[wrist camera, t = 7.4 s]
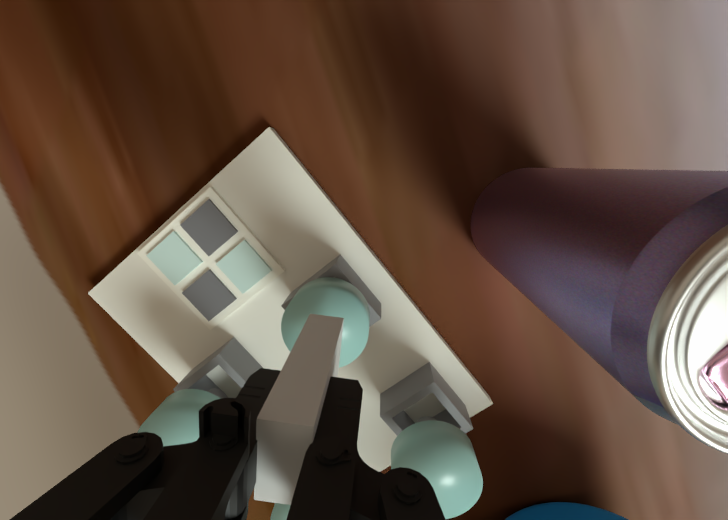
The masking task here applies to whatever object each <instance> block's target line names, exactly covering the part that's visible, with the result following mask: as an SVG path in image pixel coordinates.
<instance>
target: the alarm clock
mask: <svg viewBox="0 0 728 520" xmlns="http://www.w3.org/2000/svg"><path fill="white" fill-rule="evenodd" d="M505 520H628V519H626V518H624V517H622V516H619V515H617V514H615V513H612V512H610V511H607V510H604V509H601V508H597V507H594V506H590V505H585V504H579V503H571V502H549V503H542V504H537V505H533V506H530V507H527V508H524V509H522V510H519V511H517V512H515V513H514V514H512V515H510V516H509V517H507V518H506V519H505Z"/></svg>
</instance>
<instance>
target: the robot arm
mask: <svg viewBox="0 0 728 520" xmlns="http://www.w3.org/2000/svg"><path fill="white" fill-rule="evenodd" d="M343 323H344V318H340V317H333V316H325V315H317V314H310V315H309V317H308V318H307V320H306V322H305V324H304V326H303V328H302V330H301V332H300V334H299V336H298V338H297V340H296V342H295V344H294V346H293V348H292V350H291V352H290V354H289V356H288V358H287V360H286V362H285V364H284V366H283V368H282V370H281V371H280V370H272V369H265V368H260V369H259V370H257V371H256V372H254V373H253V374H252V375H250V376H249V378H248V379H247V381H246V383H245V384H244V387H242V389H241V390H240V392H239V394H238V395H237V397H236V398H221V399H217V400H214V401H212V402H210V403H208V404H206V405H204V406H203V407H202V408H201V409H200V410H199V438H198V439H197V441H194V442H191V443H186V444H179V445H171V446H163V442H162V439H161V437H159V436H158V435H156V434H155V433H150V432H140V433H133V434H130V435H127V436H124V437H122V438H120V439H119V440H117V441H115V442H114V443H112V444H110V445H109V446H108V447H106V448H105V449H104V450H102V451H101V452H100V453H98V454H97V455H96V456H95V457H93V458H92V459H91V460H89V461H88V462H86V463H85V464H84V465H82V466H81V467H80V468H78V469H77V470H76V471H74V472H73V473H72V474H70V475H69V476H68V477H66V478H65V479H64V480H62V481H61V482H60V483H58V484H57V485H56V486H54V487H53V488H51V489H50V490H49V491H48V492H46V493H45V494H43V495H42V496H41V497H40V498H38V499H37V500H35V501H34V502H33V503H31V504H30V505H29V506H27V507H26V508H25V509H23V510H22V511H21V512H19V513H18V514H17V515H15V516H14V517H13V518H12V519H10V520H246V519H247V513H248V501H249V498H250V496H251V493H252V491H253V489H254V500H260V501H266V502H273V503H280V504H287V505H290V509H289V513H288V516H287V520H446V519H445V517H444V514H443V512H442V509H441V507H440V504H439V502H438V499H437V497H436V494H435V492H434V489H433V487H432V486H431V484H430V482H429V481H428V479H427V478H426V477H424V476H423V475H422V474H421V473H420V472H417V471H415V470H413V469H411V468H403V467H399V468H395V469H391V470H390V471H388V472H387V473H386V474H383V473H381V472H378V471H376V470H374V469H373V468H371V467H369V466H368V465H367V464H366V463H365V462H364V461H363V460H362V459H361V457H360V456H359V453H358V450H357V440H358V431H359V422H360V413H361V404H362V394H363V389H362V387H361V385H360V383H359V381H358V380H353V379H346V378H339V377H337V376H338V371H339V361H340V352H341V342H342V332H343Z"/></svg>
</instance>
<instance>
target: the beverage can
mask: <svg viewBox="0 0 728 520" xmlns="http://www.w3.org/2000/svg"><path fill="white" fill-rule="evenodd" d="M471 235H472V239H473V242H474V244H475V246H476V248H477V250H478V251H479V253H480V254H481V255H482V256H483V257H484V258H485V259H486V260H487V261H488V262H489V263H490V264H491V265H492V266H493V267H494V268H495V269H496V270H498V271H499V272H500V273H501V274H502V275H503V276H504V277H505V278H506V279H507V280H508V281H509V282H511V283H512V284H513V285H514V286H515V287H516V288H517V289H518V290H519V291H520V292H521V293H522V294H524V295H525V296H526V297H527V298H528V299H529V300H530V301H531V302H532V303H533V304H534V305H536V306H537V307H538V308H539V309H540V310H541V311H542V312H543V313H544V314H545V315H546V316H547V317H549V318H550V319H551V320H552V321H553V322H554V323H555V324H556V325H557V326H558V327H559V328H560V329H562V330H563V331H564V332H565V333H566V334H567V335H568V336H569V337H570V338H571V339H572V340H573V341H575V342H576V343H577V344H578V345H579V346H580V347H581V348H582V349H583V350H584V351H585V352H587V353H588V354H589V355H590V356H591V357H592V358H593V359H594V360H595V361H596V362H597V363H598V364H600V365H601V366H602V367H603V368H604V369H605V370H606V371H607V372H608V373H609V374H610V375H611V376H613V377H614V378H615V379H616V380H617V381H618V382H619V383H620V384H621V385H622V386H623V387H624V388H626V389H627V390H628V391H629V392H630V393H631V394H632V395H633V396H634V397H635V398H636V399H638V400H639V401H640V402H641V403H642V404H643V405H644V406H646V407H647V408H648V409H650V410H651V411H652V412H654V413H656V414H657V415H659V416H661V417H663V418H665V419H667V420H669V421H671V422H673V423H676V424H678V425H679V426H681V427H682V428H683V429H684V430H685V431H686V432H688V433H689V434H690V435H692V436H693V437H694V438H696V439H697V440H699V441H701V442H702V443H704V444H706V445H708V446H710V447H712V448H714V449H716V450H718V451H721V452H723V453H726V454H728V171H690V170H633V169H575V168H521V169H516V170H513V171H510V172H507V173H505V174H503V175H501V176H499V177H498V178H496V179H495V180H493V181H492V182H491V183H490V184H489V185H488V186H487V187H486V188H485V189H484V190H483V191H482V193H481V194H480V196H479V197H478V199H477V201H476V203H475V205H474V208H473V211H472V215H471Z"/></svg>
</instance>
